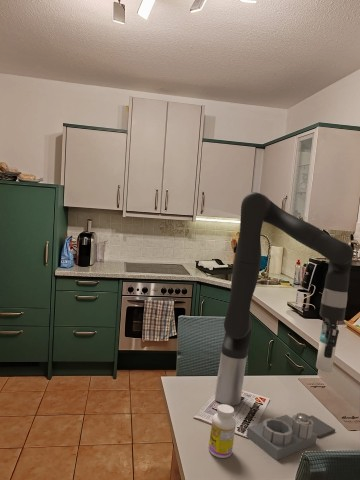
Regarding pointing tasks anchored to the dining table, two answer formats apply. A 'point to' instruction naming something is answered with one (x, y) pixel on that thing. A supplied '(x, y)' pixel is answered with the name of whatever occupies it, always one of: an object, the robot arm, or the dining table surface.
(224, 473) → the dining table surface
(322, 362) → the cartridge
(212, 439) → the supplement bottle
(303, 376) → the dining table surface
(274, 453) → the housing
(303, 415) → the plunger
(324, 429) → the mat
